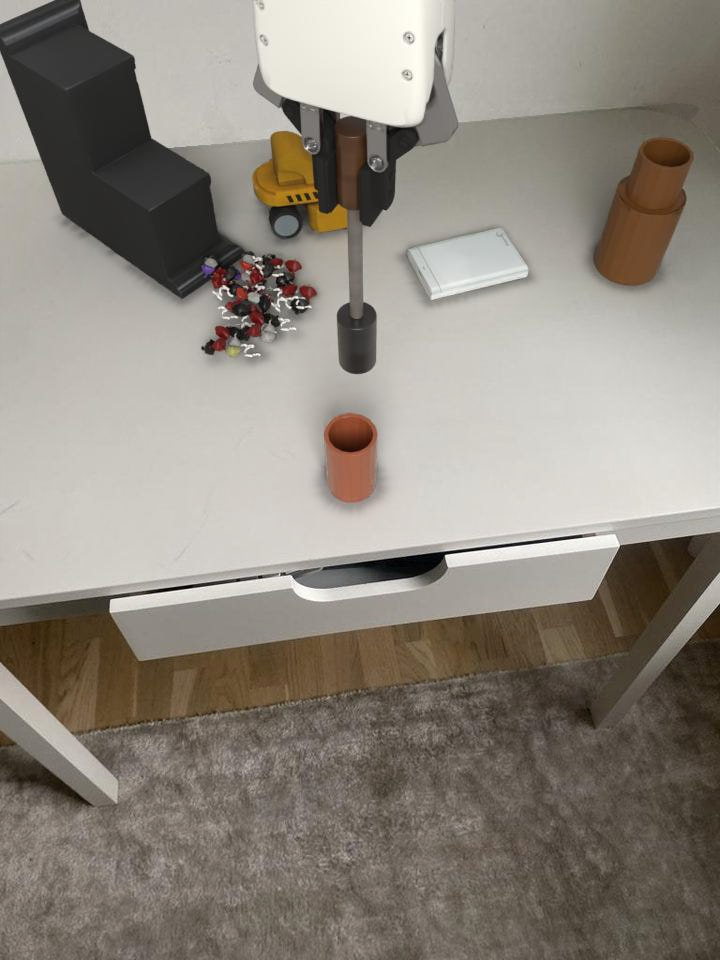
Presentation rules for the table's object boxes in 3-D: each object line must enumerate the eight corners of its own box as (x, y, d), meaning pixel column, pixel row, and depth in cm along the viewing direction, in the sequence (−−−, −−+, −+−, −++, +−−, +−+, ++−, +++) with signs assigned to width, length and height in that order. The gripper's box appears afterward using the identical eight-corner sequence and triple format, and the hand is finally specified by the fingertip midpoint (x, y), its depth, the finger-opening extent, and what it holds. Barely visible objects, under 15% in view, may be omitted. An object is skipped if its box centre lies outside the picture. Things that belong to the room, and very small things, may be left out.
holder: (385, 487, 75) (387, 439, 69) (344, 511, 74) (343, 464, 67) (358, 454, 78) (357, 405, 71) (318, 476, 76) (314, 428, 69)
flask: (670, 269, 93) (719, 158, 80) (625, 294, 90) (668, 183, 78) (625, 235, 96) (665, 123, 84) (581, 258, 94) (615, 147, 81)
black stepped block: (247, 255, 94) (217, 64, 74) (181, 301, 90) (130, 111, 70) (127, 178, 103) (71, -12, 83) (61, 217, 98) (-14, 26, 79)
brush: (383, 364, 61) (389, 129, 44) (352, 380, 60) (346, 147, 43) (362, 341, 62) (359, 106, 46) (331, 357, 61) (317, 122, 45)
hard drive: (501, 225, 95) (407, 246, 93) (529, 268, 90) (432, 291, 88) (499, 236, 96) (406, 257, 94) (527, 279, 92) (430, 301, 90)
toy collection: (179, 273, 91) (175, 244, 86) (296, 256, 94) (298, 227, 90) (206, 375, 84) (203, 349, 80) (330, 352, 88) (333, 327, 84)
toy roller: (375, 228, 97) (376, 154, 88) (263, 245, 95) (253, 170, 86) (360, 186, 102) (360, 111, 93) (253, 201, 100) (243, 126, 91)
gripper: (548, -149, 34) (492, 206, 49) (235, -198, 37) (274, 145, 53) (489, -83, 30) (448, 279, 45) (149, -145, 34) (217, 208, 49)
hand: (354, 205), depth 49 cm, fingers closed on brush, 2 cm apart
